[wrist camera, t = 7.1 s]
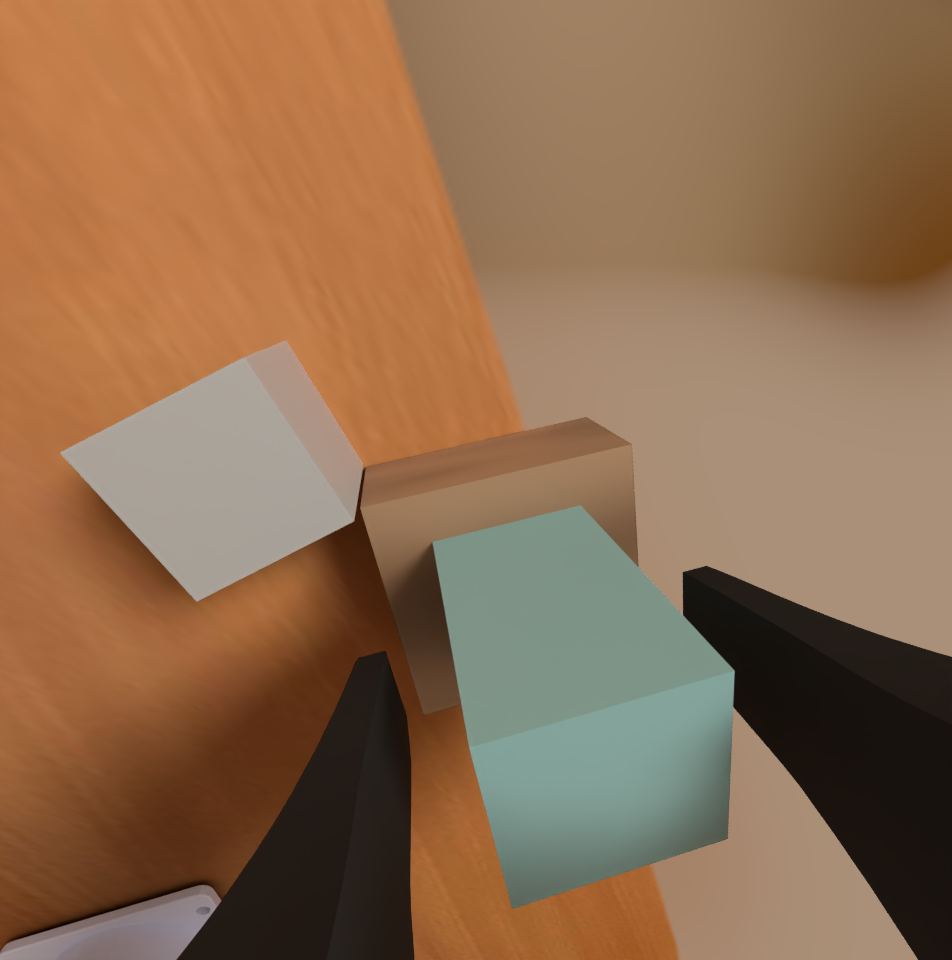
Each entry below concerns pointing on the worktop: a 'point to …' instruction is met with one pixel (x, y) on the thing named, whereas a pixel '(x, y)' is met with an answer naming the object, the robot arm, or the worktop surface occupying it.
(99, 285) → the worktop surface
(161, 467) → the grey block
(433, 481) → the brown wooden square block
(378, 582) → the worktop surface
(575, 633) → the teal block
